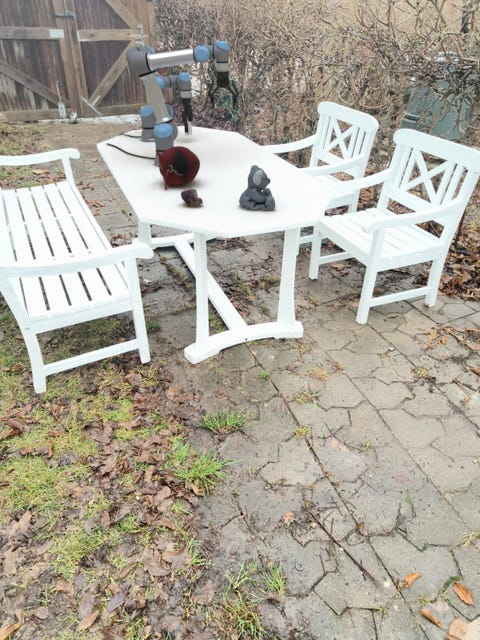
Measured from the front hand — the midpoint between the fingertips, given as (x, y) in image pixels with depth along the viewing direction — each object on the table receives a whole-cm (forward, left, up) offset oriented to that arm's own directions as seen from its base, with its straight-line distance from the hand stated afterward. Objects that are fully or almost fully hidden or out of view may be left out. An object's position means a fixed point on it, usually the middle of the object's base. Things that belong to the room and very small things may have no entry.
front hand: (223, 108), depth 286 cm
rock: (+48, -75, -31) cm, 94 cm away
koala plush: (+75, -54, -31) cm, 97 cm away
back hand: (-52, +14, -23) cm, 58 cm away
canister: (-52, +14, -25) cm, 59 cm away
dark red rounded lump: (+17, -55, -31) cm, 65 cm away
